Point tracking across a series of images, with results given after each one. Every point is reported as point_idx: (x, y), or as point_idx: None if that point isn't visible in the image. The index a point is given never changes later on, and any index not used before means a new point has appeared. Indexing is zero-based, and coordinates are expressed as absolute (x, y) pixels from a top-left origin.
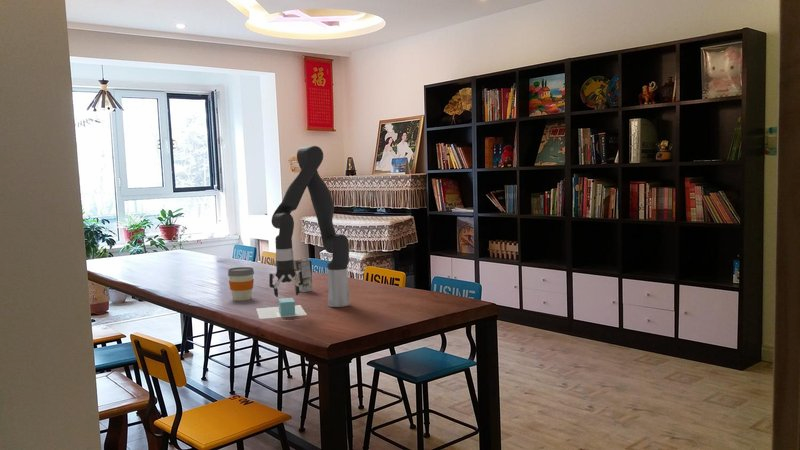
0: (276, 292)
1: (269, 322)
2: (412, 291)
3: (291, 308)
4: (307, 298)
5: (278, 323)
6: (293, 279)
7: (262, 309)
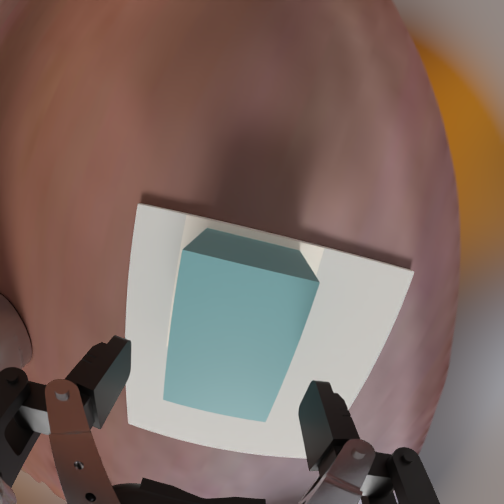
0: (336, 409)
1: (390, 186)
2: None
3: (224, 244)
4: None
5: (358, 126)
6: (70, 474)
7: (302, 441)
